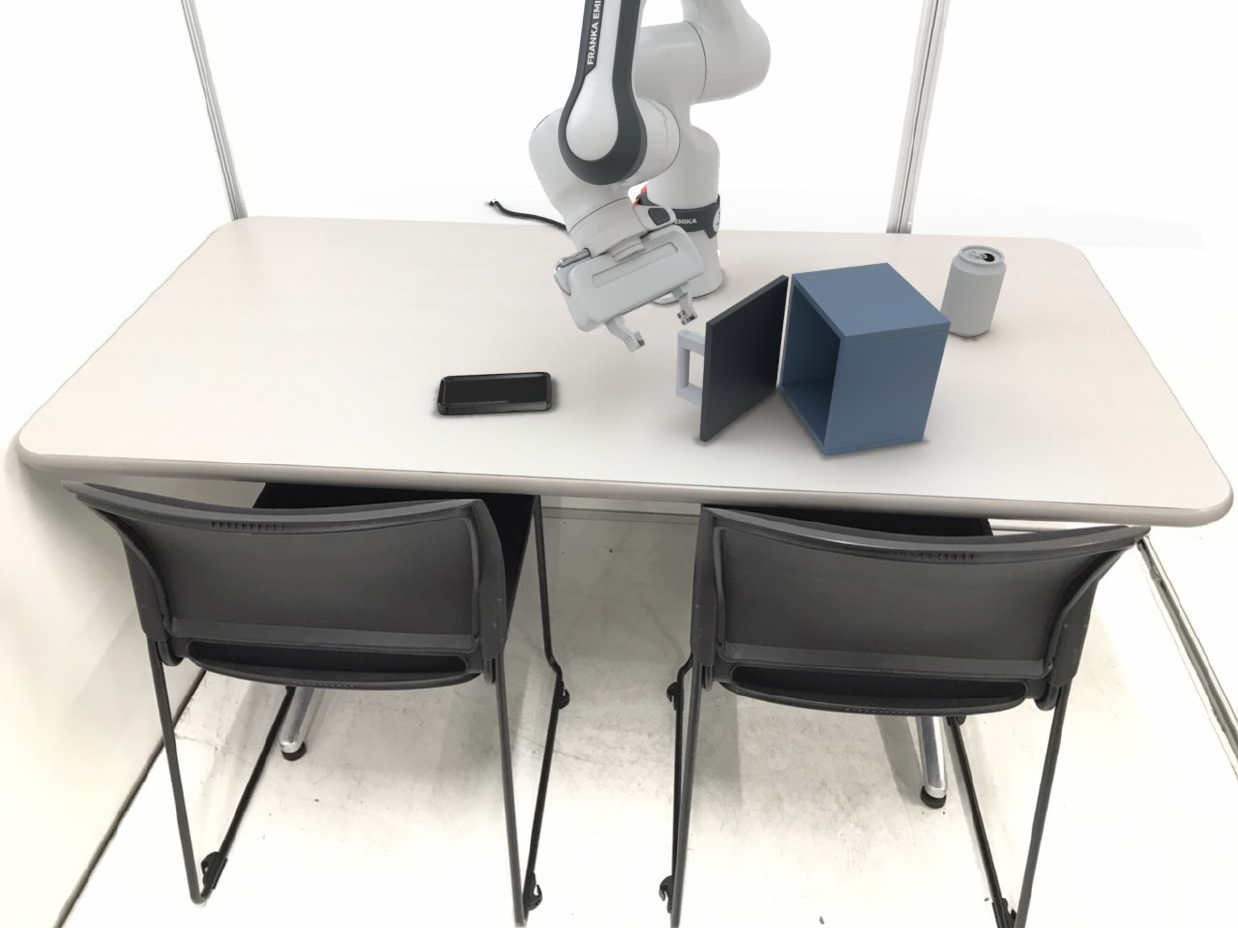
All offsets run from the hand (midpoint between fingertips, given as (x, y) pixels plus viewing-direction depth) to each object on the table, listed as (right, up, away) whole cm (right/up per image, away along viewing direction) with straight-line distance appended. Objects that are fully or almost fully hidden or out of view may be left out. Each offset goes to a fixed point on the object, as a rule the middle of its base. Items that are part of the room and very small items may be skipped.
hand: (665, 335), depth 114 cm
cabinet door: (+8, -8, +7) cm, 13 cm away
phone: (-22, -7, +9) cm, 25 cm away
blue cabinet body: (+24, -10, +5) cm, 26 cm away
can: (+46, +4, +23) cm, 52 cm away
